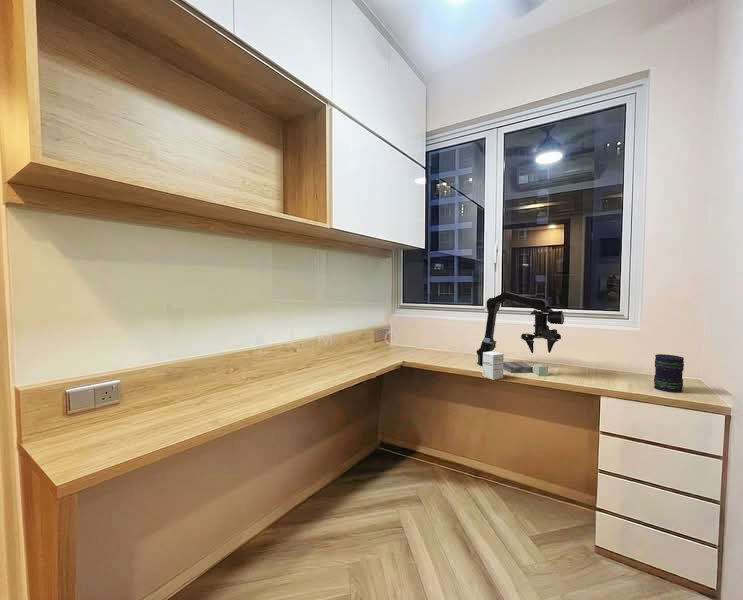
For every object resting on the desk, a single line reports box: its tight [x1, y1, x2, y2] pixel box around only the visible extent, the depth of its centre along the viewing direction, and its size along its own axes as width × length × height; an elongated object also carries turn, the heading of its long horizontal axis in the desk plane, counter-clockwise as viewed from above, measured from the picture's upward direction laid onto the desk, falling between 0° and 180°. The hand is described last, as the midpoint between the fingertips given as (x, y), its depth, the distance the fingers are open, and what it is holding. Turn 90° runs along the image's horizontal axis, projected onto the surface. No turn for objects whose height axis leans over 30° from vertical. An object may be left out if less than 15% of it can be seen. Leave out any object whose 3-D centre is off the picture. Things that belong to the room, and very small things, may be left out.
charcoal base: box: [503, 361, 534, 374], centre depth 187 cm, size 12×12×3 cm
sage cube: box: [532, 363, 549, 377], centre depth 177 cm, size 5×5×5 cm
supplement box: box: [482, 350, 505, 381], centre depth 172 cm, size 7×7×13 cm
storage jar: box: [653, 353, 685, 394], centre depth 152 cm, size 10×10×15 cm
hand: (540, 352), depth 177 cm, fingers open, 9 cm apart
